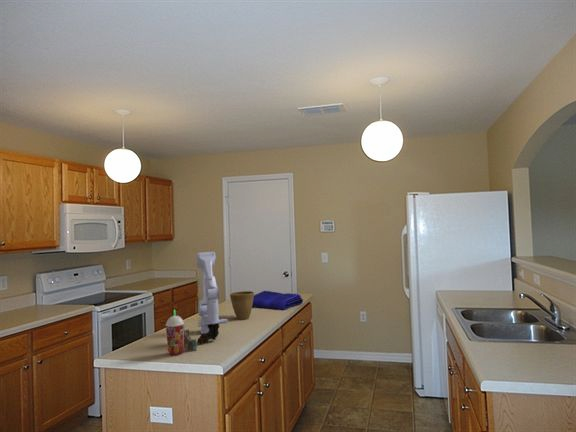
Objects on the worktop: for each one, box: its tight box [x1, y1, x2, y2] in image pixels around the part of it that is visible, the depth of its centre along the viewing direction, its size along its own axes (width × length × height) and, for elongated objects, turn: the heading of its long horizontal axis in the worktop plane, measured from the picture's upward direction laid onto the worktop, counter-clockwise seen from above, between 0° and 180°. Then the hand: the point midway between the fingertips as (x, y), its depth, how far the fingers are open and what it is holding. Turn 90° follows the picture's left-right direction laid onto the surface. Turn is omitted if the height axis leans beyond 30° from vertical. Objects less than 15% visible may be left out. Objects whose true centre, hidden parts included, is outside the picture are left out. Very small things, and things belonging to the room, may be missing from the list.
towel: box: [252, 290, 304, 311], centre depth 288 cm, size 26×36×9 cm
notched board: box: [184, 329, 197, 352], centre depth 196 cm, size 22×3×5 cm, turn 23°
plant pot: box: [229, 290, 255, 321], centre depth 249 cm, size 15×15×16 cm
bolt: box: [196, 330, 220, 344], centre depth 202 cm, size 6×5×15 cm
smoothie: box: [165, 309, 185, 356], centre depth 183 cm, size 8×8×20 cm
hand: (213, 339), depth 200 cm, fingers closed
